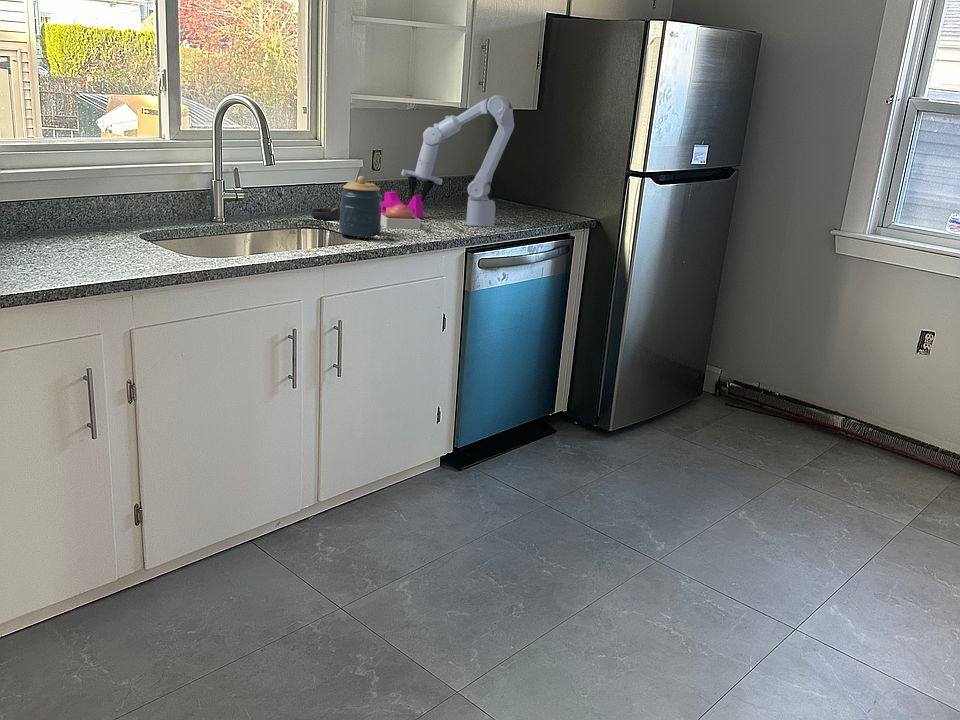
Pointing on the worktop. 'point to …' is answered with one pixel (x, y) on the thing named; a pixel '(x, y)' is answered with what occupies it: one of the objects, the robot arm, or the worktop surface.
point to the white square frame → (400, 222)
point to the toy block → (393, 200)
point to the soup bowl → (325, 214)
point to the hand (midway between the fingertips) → (415, 199)
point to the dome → (399, 212)
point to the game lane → (444, 223)
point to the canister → (360, 209)
